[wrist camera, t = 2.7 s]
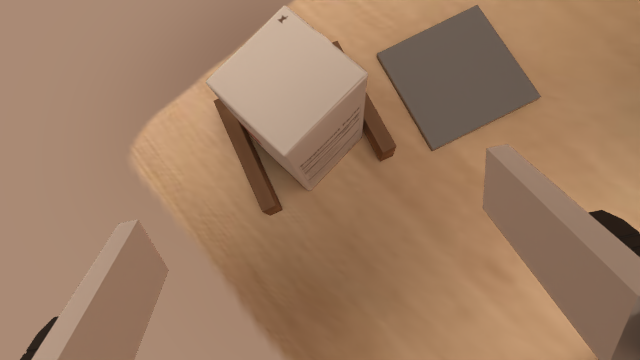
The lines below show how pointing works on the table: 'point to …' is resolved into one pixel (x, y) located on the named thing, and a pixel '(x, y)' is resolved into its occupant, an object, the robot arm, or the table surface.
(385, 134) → the cradle
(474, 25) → the slate pad
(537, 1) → the table surface
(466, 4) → the table surface
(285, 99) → the supplement box
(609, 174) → the table surface
